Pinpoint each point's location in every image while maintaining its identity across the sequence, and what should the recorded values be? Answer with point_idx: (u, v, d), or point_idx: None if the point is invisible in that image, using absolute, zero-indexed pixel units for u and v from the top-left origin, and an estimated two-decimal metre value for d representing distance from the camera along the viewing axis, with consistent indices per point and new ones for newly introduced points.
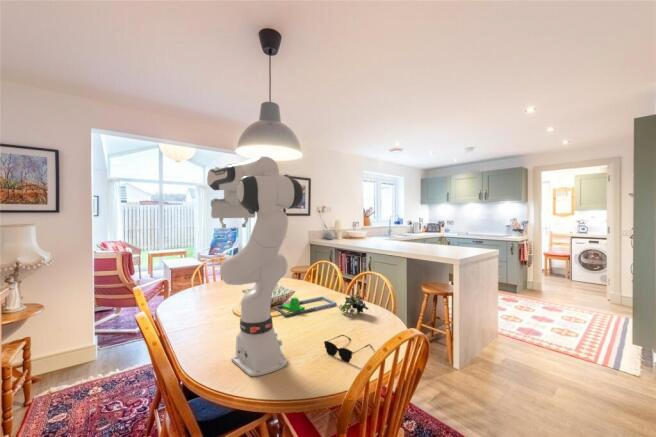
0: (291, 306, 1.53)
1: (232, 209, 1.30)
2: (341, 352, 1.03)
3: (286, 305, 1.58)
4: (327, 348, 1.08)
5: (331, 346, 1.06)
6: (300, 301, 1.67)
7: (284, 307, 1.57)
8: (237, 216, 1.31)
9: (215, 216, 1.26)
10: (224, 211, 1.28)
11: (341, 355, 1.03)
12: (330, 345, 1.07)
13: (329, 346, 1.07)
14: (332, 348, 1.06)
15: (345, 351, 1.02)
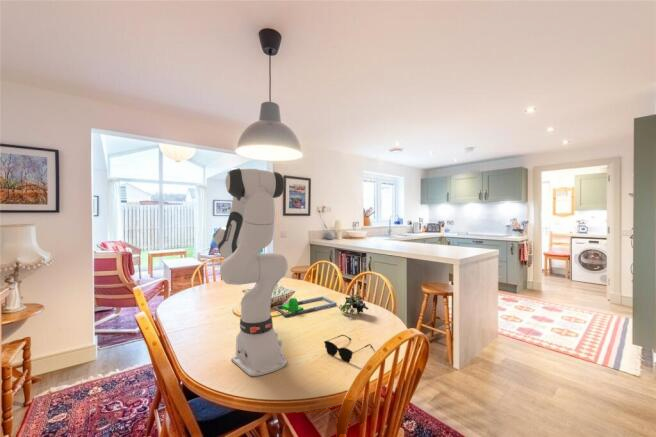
0: (290, 306, 1.53)
1: None
2: (341, 352, 1.03)
3: (285, 305, 1.58)
4: (327, 348, 1.08)
5: (331, 346, 1.07)
6: (300, 301, 1.67)
7: (283, 307, 1.57)
8: None
9: None
10: None
11: (341, 355, 1.03)
12: (331, 345, 1.07)
13: (329, 346, 1.07)
14: (332, 348, 1.06)
15: (345, 351, 1.02)
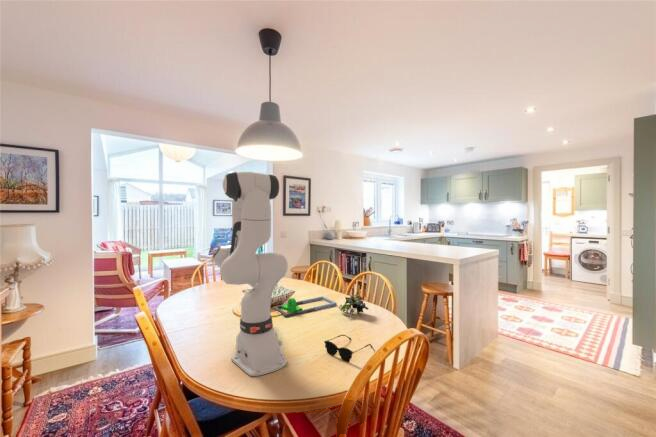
0: (288, 306, 1.52)
1: None
2: (341, 352, 1.04)
3: (285, 305, 1.58)
4: (327, 348, 1.08)
5: (331, 346, 1.07)
6: (300, 301, 1.67)
7: (283, 307, 1.57)
8: None
9: None
10: None
11: (341, 355, 1.03)
12: (331, 345, 1.07)
13: (330, 345, 1.07)
14: (332, 348, 1.06)
15: (345, 351, 1.02)
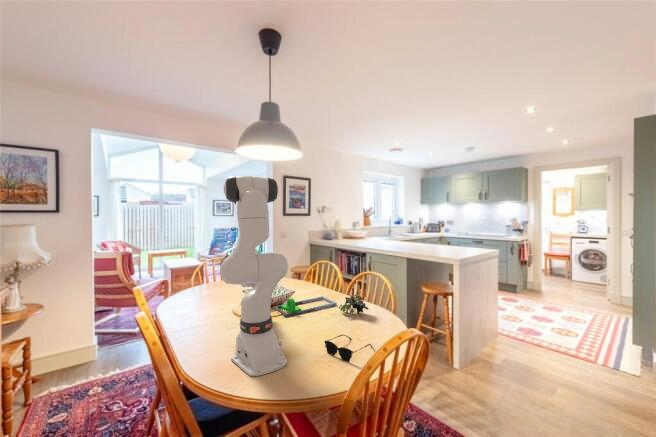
0: (287, 307, 1.52)
1: None
2: (341, 352, 1.04)
3: (285, 305, 1.58)
4: (327, 347, 1.08)
5: (331, 346, 1.07)
6: (300, 301, 1.67)
7: (282, 307, 1.57)
8: None
9: None
10: None
11: (341, 354, 1.03)
12: (331, 345, 1.07)
13: (330, 345, 1.07)
14: (332, 348, 1.06)
15: (345, 350, 1.02)
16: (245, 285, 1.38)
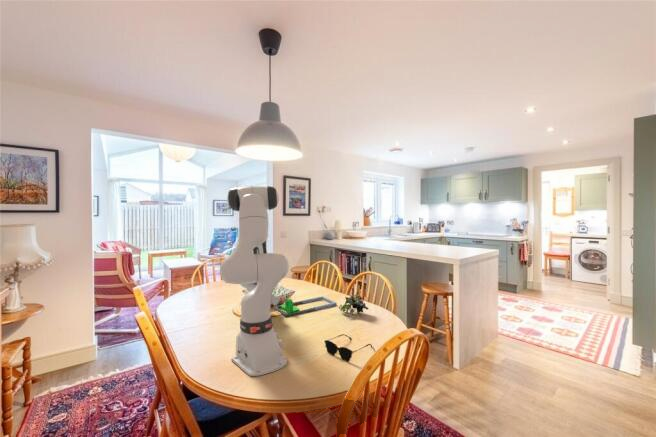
0: (286, 307, 1.52)
1: None
2: (341, 352, 1.04)
3: (284, 305, 1.58)
4: (327, 347, 1.08)
5: (331, 346, 1.07)
6: (300, 301, 1.67)
7: (281, 307, 1.57)
8: None
9: (278, 299, 1.42)
10: None
11: (341, 354, 1.04)
12: (331, 344, 1.07)
13: (330, 345, 1.08)
14: (332, 347, 1.07)
15: (345, 350, 1.03)
16: None
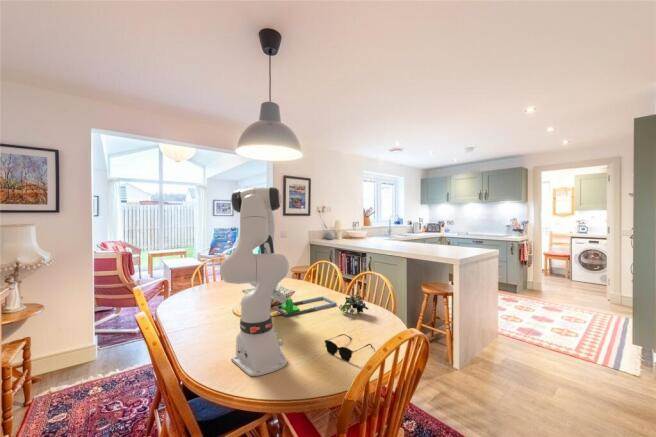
0: (286, 306, 1.52)
1: None
2: (341, 351, 1.04)
3: (284, 305, 1.58)
4: (327, 347, 1.08)
5: (331, 345, 1.07)
6: (300, 301, 1.67)
7: (282, 307, 1.57)
8: None
9: None
10: None
11: (341, 354, 1.04)
12: (331, 344, 1.07)
13: (330, 345, 1.08)
14: (332, 347, 1.07)
15: (345, 350, 1.03)
16: None
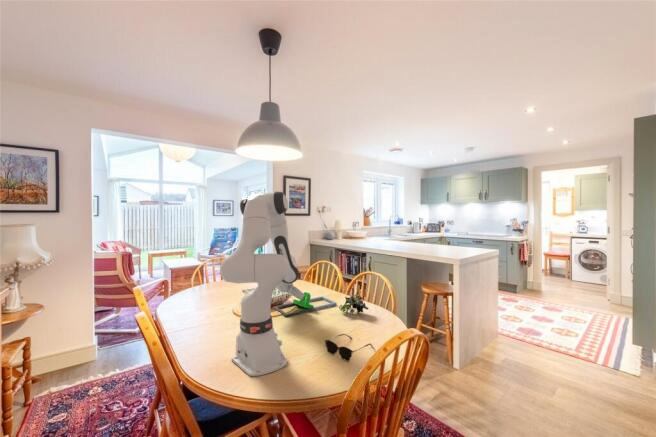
0: (301, 300, 1.57)
1: None
2: (341, 351, 1.04)
3: (297, 300, 1.62)
4: (328, 347, 1.09)
5: (331, 345, 1.07)
6: None
7: (295, 301, 1.61)
8: None
9: (303, 294, 1.50)
10: None
11: (341, 354, 1.04)
12: (331, 344, 1.08)
13: (330, 344, 1.08)
14: (332, 347, 1.07)
15: (345, 350, 1.03)
16: (284, 290, 1.50)
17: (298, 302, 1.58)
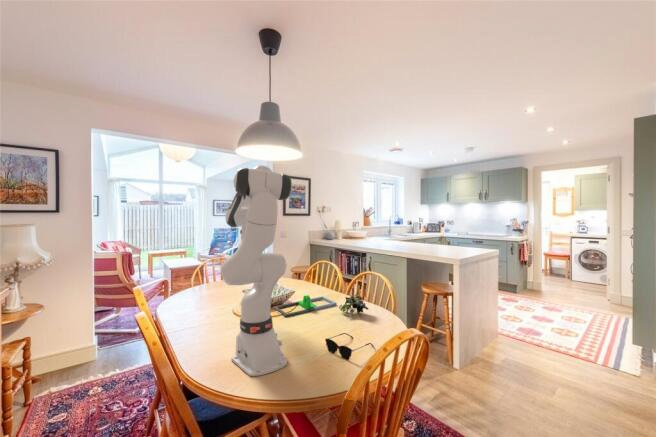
0: (304, 303, 1.58)
1: None
2: (341, 350, 1.05)
3: (302, 302, 1.64)
4: (328, 345, 1.10)
5: (332, 344, 1.08)
6: None
7: (299, 303, 1.63)
8: None
9: None
10: None
11: (341, 353, 1.05)
12: (331, 343, 1.09)
13: (330, 343, 1.09)
14: (333, 346, 1.08)
15: (345, 349, 1.04)
16: None
17: (302, 305, 1.60)
